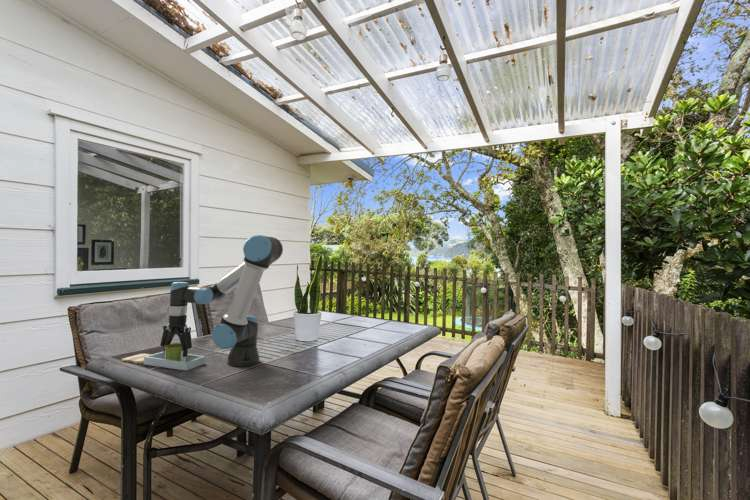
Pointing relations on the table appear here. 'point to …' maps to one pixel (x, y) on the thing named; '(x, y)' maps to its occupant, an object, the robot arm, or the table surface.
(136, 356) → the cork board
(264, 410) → the table surface
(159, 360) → the pale blue tray
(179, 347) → the plant pot
